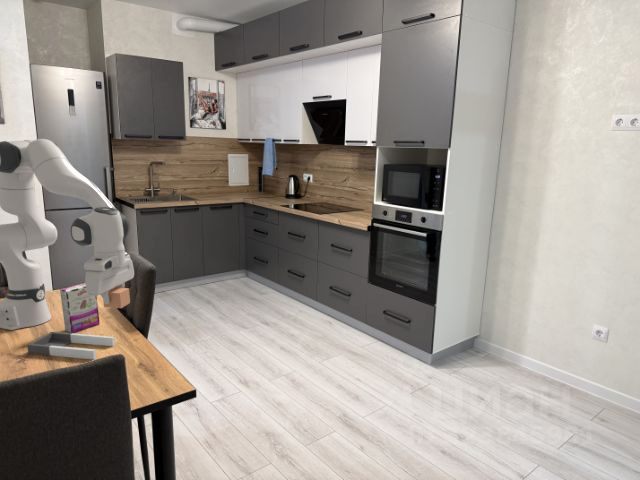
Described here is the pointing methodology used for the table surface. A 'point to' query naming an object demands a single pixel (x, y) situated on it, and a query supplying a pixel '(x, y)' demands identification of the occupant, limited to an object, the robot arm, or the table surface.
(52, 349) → the channel
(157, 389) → the table surface
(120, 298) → the block
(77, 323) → the candy bar box
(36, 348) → the bin
